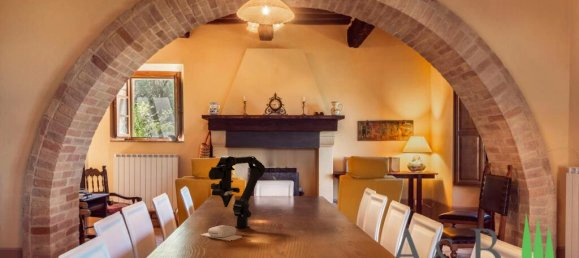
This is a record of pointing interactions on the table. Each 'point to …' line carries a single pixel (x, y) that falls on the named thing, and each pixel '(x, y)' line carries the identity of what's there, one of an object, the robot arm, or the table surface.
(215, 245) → the table surface
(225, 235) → the photo printer
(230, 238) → the beige flat sheet
